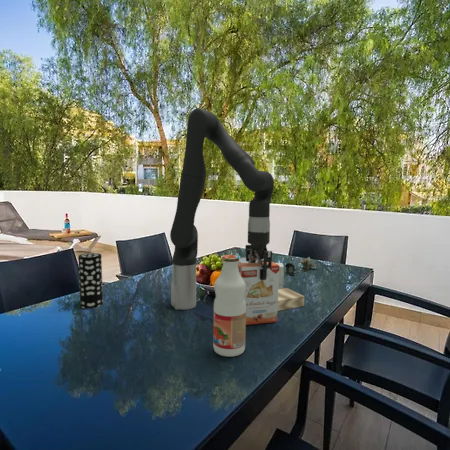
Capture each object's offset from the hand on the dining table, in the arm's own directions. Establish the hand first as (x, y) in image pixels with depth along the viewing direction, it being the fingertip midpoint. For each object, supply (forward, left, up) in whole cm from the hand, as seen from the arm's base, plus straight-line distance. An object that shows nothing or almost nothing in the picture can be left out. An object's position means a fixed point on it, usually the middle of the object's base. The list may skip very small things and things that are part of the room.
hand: (257, 276), depth 118 cm
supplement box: (+25, +25, -16) cm, 39 cm away
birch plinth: (+17, +11, -16) cm, 26 cm away
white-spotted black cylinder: (-51, +41, -16) cm, 68 cm away
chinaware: (+30, +54, -16) cm, 64 cm away
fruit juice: (-18, -14, -16) cm, 28 cm away
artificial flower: (+58, +48, -17) cm, 78 cm away
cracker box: (0, 0, -16) cm, 16 cm away
